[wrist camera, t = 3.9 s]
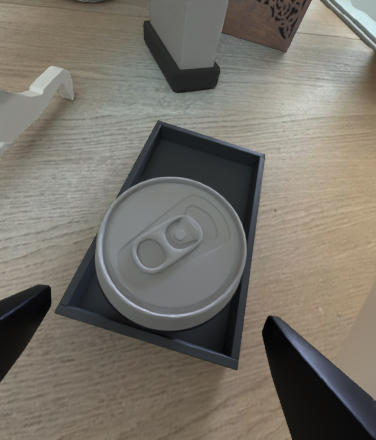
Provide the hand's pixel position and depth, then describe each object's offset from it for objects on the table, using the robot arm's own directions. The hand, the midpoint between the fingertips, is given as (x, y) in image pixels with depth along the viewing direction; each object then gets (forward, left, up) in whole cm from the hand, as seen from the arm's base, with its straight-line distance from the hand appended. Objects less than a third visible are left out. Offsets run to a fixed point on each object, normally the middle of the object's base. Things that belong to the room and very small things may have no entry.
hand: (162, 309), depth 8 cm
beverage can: (+2, 0, -9) cm, 9 cm away
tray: (+9, 0, -9) cm, 13 cm away
